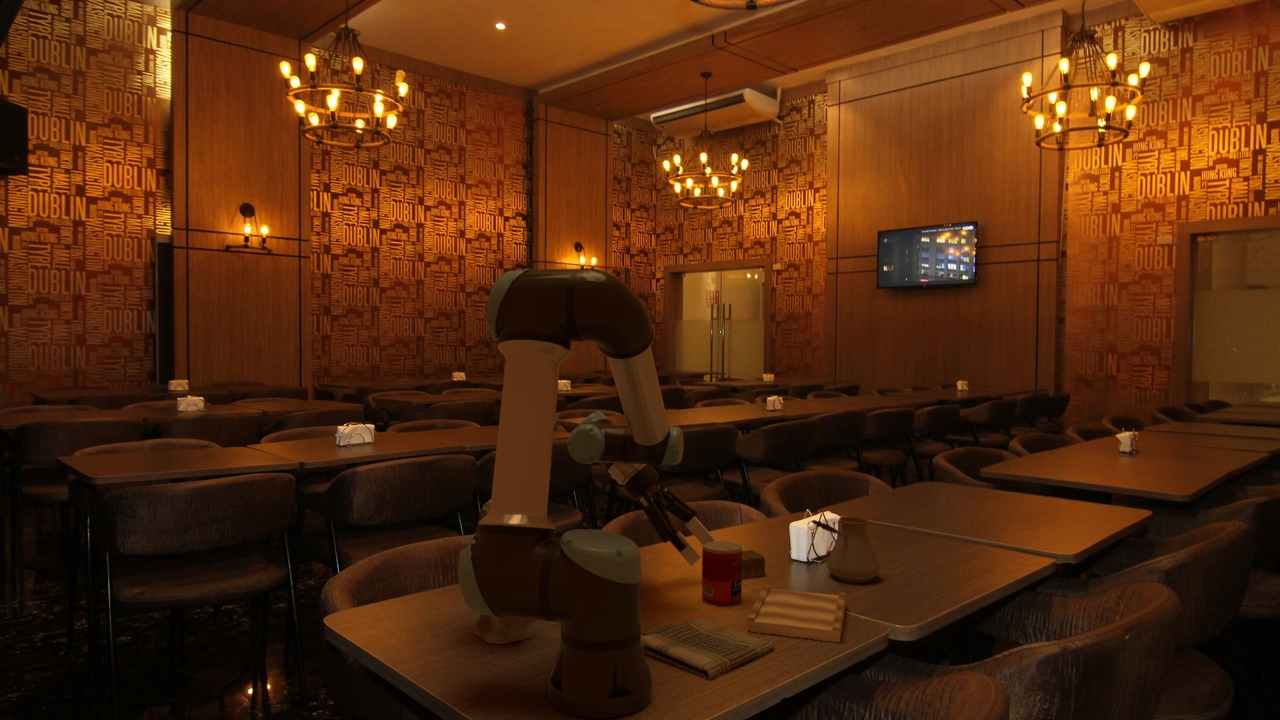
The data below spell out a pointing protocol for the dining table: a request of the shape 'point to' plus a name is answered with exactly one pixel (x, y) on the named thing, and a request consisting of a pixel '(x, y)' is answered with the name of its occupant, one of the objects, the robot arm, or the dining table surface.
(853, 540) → the coffee pot
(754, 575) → the stone block
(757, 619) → the board
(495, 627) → the figurine
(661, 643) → the dish towel
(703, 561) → the canned food
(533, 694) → the dining table surface
